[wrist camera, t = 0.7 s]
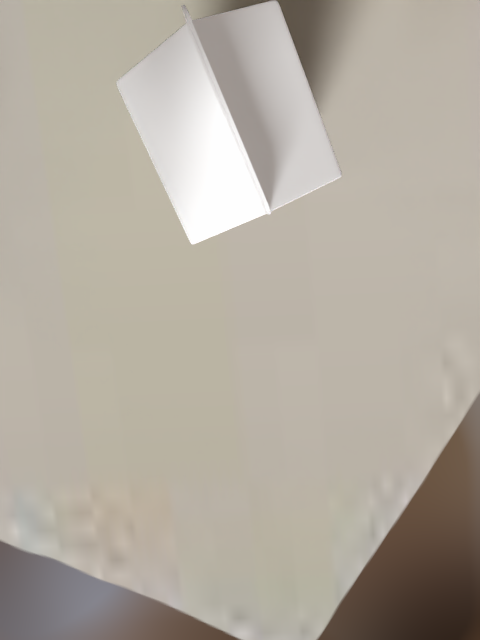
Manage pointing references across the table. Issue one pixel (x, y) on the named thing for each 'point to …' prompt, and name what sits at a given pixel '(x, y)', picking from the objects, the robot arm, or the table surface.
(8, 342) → the table surface
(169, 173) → the milk
